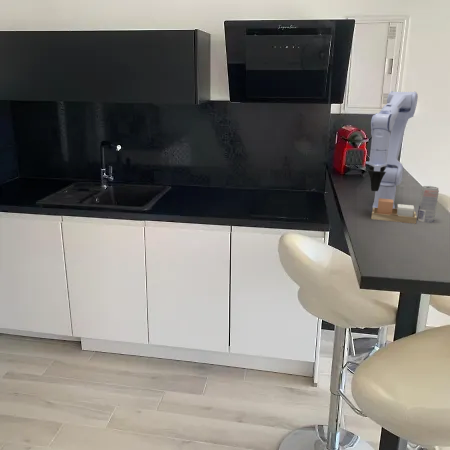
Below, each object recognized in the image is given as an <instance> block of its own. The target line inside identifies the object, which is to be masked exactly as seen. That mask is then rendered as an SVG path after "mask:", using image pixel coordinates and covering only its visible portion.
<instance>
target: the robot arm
mask: <svg viewBox="0 0 450 450" xmlns="http://www.w3.org/2000/svg"><path fill="white" fill-rule="evenodd" d="M418 100H419V99H418V93H417V91H393V90H391V91H390V92H389V93H388V94H387V99H386V104H385V105H383V107H382V108H381V110H380V111H379V112H378V113H377V112H376V113H375V114H373V115H372V117H371V121H370V130H371V131H370V135H371V143H370V151H369V152H370V153H369V161H365V164H366V165H369V166H368V168H369V169H368V170H367V172H368V175H369V178H370V189H371V190H370V191H371V192H374V200H373V201H374V202H373V203H372V209H373V208H378V201H379V198H381V199H392V200H393V208H395V209H396V207H395V206H396V205H395V199H396V190H397V186H399V185H400V184H401V183H402V180H403V172H404V166H403V163H401V162H400V161H399V155H400V152H401V148H402V143H403V139H404V135H405V130H406V126H407V123H408V121H409V120H410V119H411V118H413V117H414V115H415V113H416V109H417V104H418Z"/></svg>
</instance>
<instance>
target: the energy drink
mask: <svg viewBox="0 0 450 450" xmlns="http://www.w3.org/2000/svg"><path fill="white" fill-rule="evenodd" d="M439 192H440V191H439V187H436V186H431V185H424V186H422V188H421V190H420V197H419V203H418V211H417V216H416V217H417V219H416V221H418V222H421V223H427V224H428V223H429V224H430V223H431V224H432V223H434V222H435V217H436V210H437V205H438V199H439Z"/></svg>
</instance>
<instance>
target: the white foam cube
mask: <svg viewBox="0 0 450 450" xmlns="http://www.w3.org/2000/svg"><path fill="white" fill-rule="evenodd" d="M414 206H415V205H413V204H412V205H411V204H402V203H397V207H396V209H397V214H398V216H407V217H413V212H415V207H414Z"/></svg>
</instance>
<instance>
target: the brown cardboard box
mask: <svg viewBox="0 0 450 450" xmlns="http://www.w3.org/2000/svg"><path fill="white" fill-rule="evenodd" d="M392 209H393V200H392V199H381V198H379V201H378V210H377V213H378V214H388V215H390V214H392Z"/></svg>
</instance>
